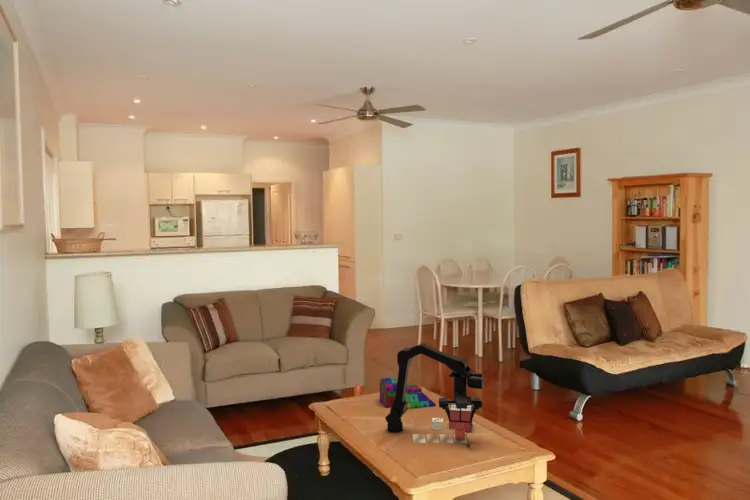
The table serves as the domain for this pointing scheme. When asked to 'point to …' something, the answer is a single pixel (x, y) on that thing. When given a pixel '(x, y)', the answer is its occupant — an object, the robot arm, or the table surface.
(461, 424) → the pawn
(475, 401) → the robot arm
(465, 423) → the puzzle cube
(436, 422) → the die
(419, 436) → the board
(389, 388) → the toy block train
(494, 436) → the table surface
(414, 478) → the table surface
